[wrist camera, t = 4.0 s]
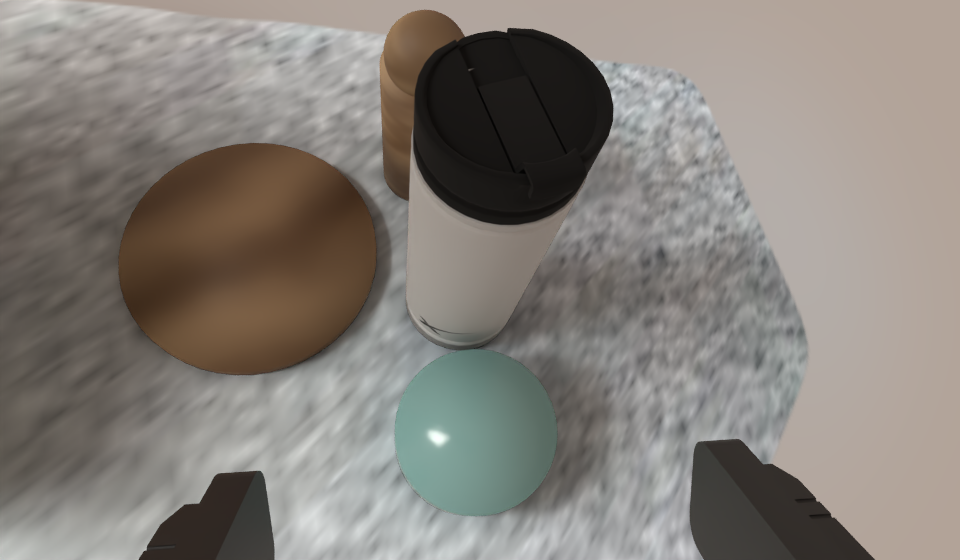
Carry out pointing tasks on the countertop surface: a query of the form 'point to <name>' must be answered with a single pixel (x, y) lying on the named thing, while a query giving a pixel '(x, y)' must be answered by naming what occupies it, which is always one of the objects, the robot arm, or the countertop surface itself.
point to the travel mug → (494, 174)
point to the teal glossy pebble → (475, 433)
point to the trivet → (248, 259)
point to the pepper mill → (406, 86)
